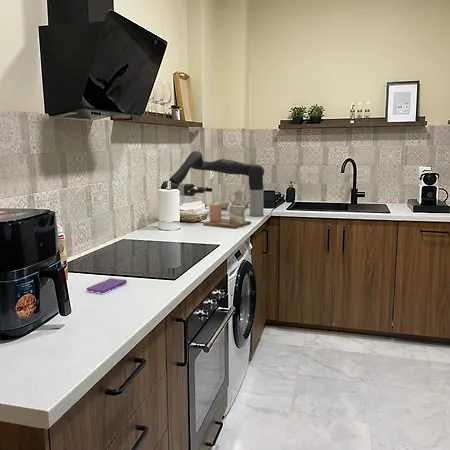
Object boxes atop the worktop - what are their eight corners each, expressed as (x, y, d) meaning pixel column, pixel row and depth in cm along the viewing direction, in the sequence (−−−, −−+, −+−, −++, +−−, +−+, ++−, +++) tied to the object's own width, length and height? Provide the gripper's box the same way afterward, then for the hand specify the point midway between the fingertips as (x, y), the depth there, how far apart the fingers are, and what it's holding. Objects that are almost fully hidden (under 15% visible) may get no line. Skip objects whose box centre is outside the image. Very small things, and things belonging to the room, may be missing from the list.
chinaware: (245, 208, 351) (244, 186, 349) (259, 208, 337) (257, 186, 336) (214, 212, 335) (213, 189, 334) (227, 212, 321) (226, 188, 320)
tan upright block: (213, 219, 281) (212, 203, 279) (221, 220, 278) (221, 204, 276) (209, 220, 278) (209, 204, 276) (218, 221, 275) (217, 205, 273)
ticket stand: (220, 220, 287) (220, 202, 285) (251, 223, 275) (251, 204, 273) (203, 225, 272) (203, 206, 270) (234, 228, 260) (234, 208, 258)
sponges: (127, 284, 161) (126, 279, 161) (103, 295, 150) (103, 290, 149) (111, 282, 164) (110, 277, 164) (86, 293, 153) (86, 287, 152)
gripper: (193, 194, 293) (214, 195, 284) (179, 197, 282) (201, 198, 273) (193, 182, 292) (214, 183, 283) (179, 184, 280) (200, 185, 271)
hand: (207, 190), depth 278 cm, fingers open, 8 cm apart
